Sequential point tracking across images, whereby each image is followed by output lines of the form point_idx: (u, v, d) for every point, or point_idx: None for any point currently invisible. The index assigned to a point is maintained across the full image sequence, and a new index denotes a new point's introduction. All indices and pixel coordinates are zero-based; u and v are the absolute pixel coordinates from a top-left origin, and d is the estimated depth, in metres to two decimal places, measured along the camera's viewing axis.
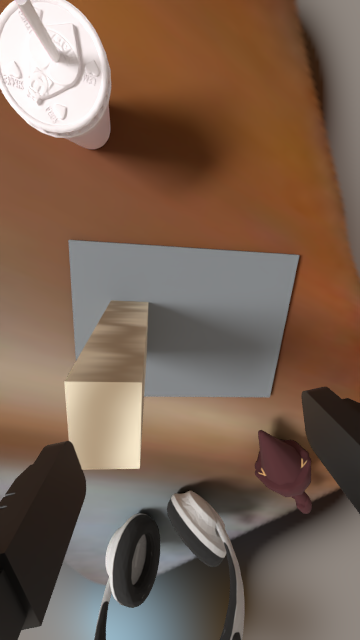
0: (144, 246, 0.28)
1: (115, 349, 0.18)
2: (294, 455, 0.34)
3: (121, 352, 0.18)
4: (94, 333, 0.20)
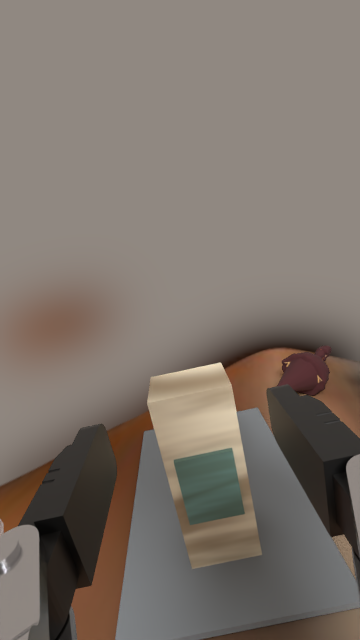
0: (130, 541, 0.26)
1: None
2: (285, 370, 0.44)
3: None
4: (168, 479, 0.21)
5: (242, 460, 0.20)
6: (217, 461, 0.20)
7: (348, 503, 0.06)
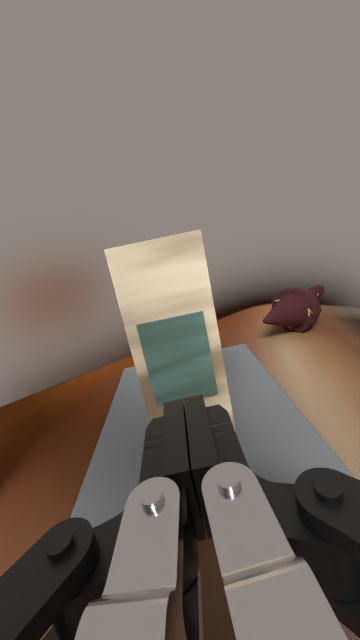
0: (97, 447, 0.24)
1: None
2: None
3: None
4: (131, 350, 0.18)
5: (214, 327, 0.18)
6: (185, 325, 0.18)
7: None
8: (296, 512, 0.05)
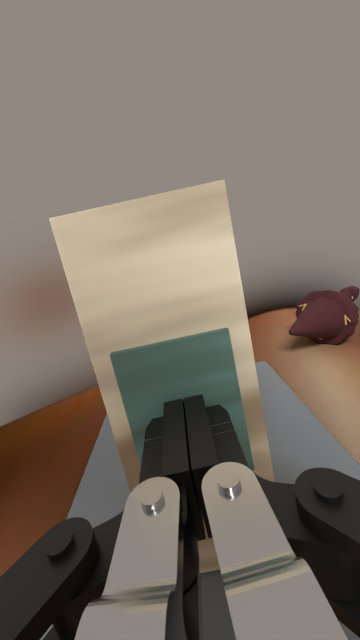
0: None
1: None
2: None
3: None
4: (103, 397, 0.11)
5: (247, 357, 0.10)
6: (198, 353, 0.10)
7: None
8: (296, 512, 0.05)
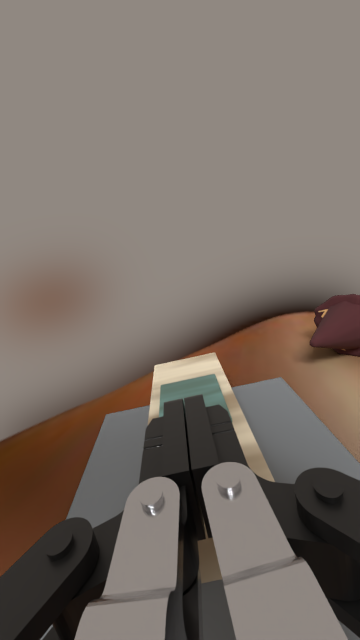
0: None
1: None
2: (321, 320, 0.30)
3: None
4: (150, 403, 0.20)
5: (225, 383, 0.20)
6: (200, 380, 0.21)
7: None
8: (296, 512, 0.05)
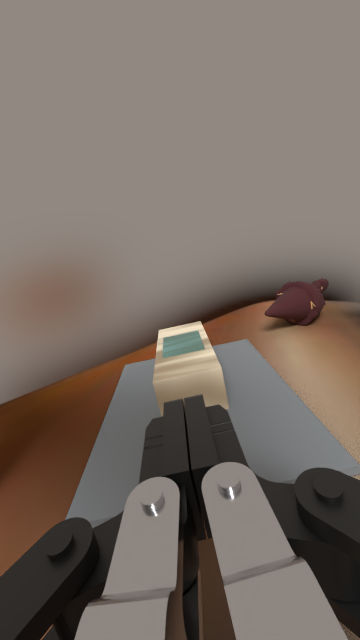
0: (96, 442, 0.23)
1: None
2: None
3: None
4: (157, 346, 0.32)
5: (204, 334, 0.32)
6: (188, 333, 0.33)
7: None
8: (296, 512, 0.05)
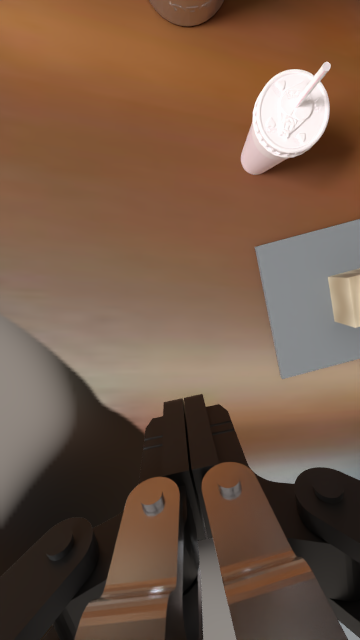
0: (314, 232, 0.34)
1: None
2: None
3: None
4: None
5: None
6: None
7: None
8: (296, 512, 0.05)
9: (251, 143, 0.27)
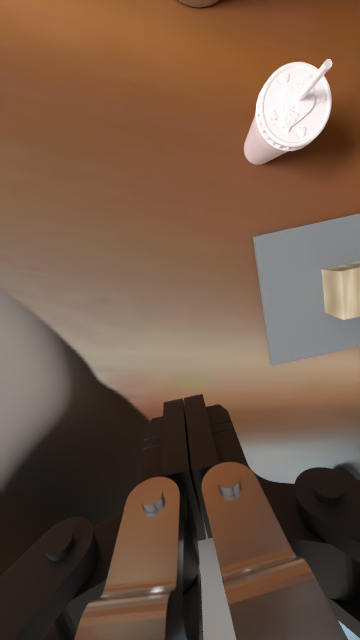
0: (311, 225, 0.34)
1: None
2: None
3: None
4: None
5: None
6: None
7: None
8: (296, 512, 0.05)
9: (254, 134, 0.27)
